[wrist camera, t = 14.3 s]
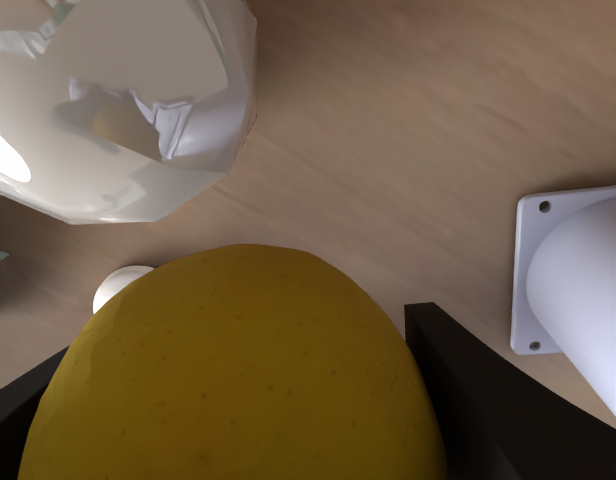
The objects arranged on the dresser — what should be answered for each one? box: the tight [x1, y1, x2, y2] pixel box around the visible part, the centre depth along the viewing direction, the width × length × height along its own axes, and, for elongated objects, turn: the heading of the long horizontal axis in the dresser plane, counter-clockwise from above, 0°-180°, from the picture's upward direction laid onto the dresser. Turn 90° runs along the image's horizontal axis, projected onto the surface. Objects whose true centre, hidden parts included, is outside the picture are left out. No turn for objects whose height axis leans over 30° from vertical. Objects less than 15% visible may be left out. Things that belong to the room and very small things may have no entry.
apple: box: [17, 244, 447, 480], centre depth 7 cm, size 6×6×8 cm
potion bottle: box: [0, 0, 257, 225], centre depth 13 cm, size 9×10×15 cm
